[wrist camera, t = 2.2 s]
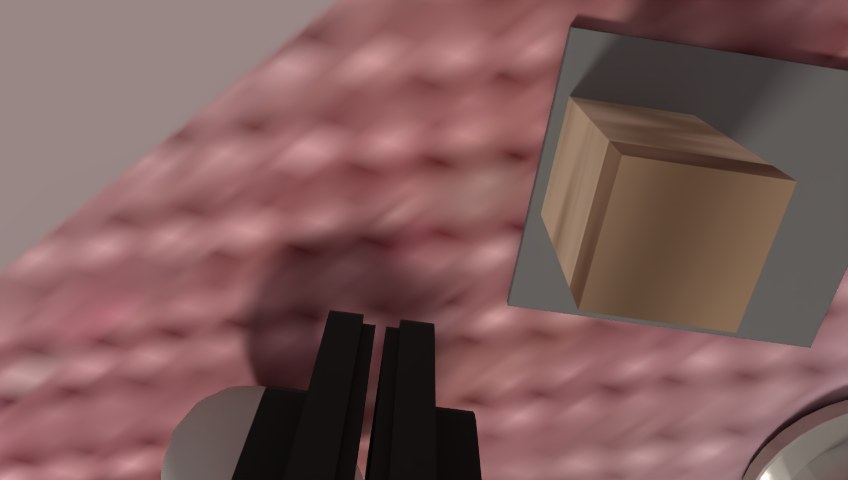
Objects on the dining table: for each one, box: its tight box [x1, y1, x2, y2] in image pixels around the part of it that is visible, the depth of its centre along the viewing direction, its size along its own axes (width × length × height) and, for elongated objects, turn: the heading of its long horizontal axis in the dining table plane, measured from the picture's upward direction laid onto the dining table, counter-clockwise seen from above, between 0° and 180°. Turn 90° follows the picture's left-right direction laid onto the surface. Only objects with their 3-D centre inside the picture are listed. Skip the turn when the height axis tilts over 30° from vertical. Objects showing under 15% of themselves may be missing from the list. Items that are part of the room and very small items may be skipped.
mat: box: [507, 26, 848, 348], centre depth 27 cm, size 14×12×1 cm
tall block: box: [541, 96, 797, 333], centre depth 23 cm, size 5×5×8 cm
